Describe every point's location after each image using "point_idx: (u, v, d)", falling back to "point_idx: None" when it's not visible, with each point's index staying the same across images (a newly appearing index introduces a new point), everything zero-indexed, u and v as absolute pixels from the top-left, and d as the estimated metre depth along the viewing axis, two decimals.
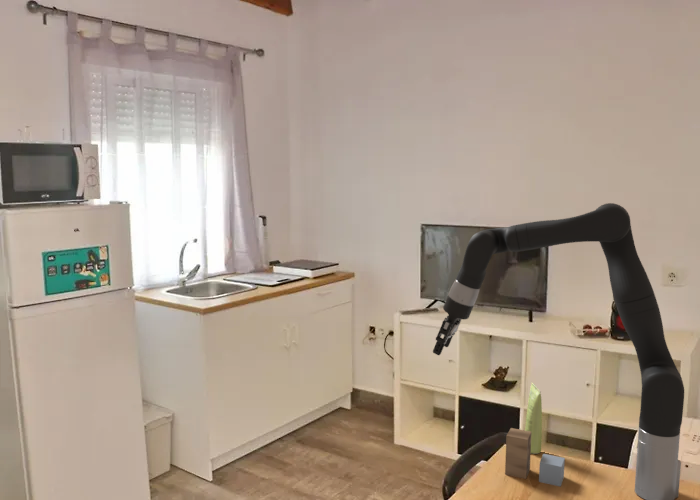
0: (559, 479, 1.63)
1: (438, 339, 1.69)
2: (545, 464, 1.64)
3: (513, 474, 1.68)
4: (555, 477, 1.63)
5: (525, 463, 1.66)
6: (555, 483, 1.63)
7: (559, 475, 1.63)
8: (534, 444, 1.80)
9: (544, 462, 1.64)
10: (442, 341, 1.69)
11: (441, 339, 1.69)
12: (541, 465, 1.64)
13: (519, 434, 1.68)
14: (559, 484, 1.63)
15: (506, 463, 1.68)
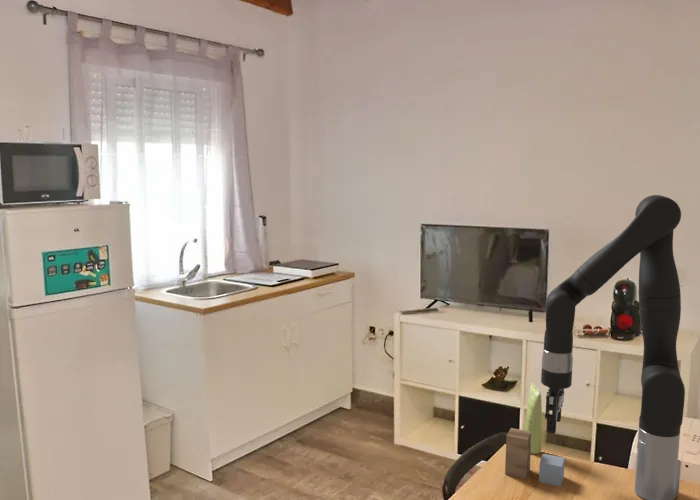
0: (559, 479, 1.63)
1: (548, 417, 1.58)
2: (545, 464, 1.64)
3: (513, 474, 1.68)
4: (555, 477, 1.63)
5: (525, 463, 1.66)
6: (555, 483, 1.63)
7: (559, 475, 1.63)
8: (534, 444, 1.80)
9: (544, 462, 1.64)
10: (553, 418, 1.57)
11: (551, 416, 1.57)
12: (541, 465, 1.64)
13: (519, 434, 1.68)
14: (559, 484, 1.63)
15: (506, 463, 1.68)
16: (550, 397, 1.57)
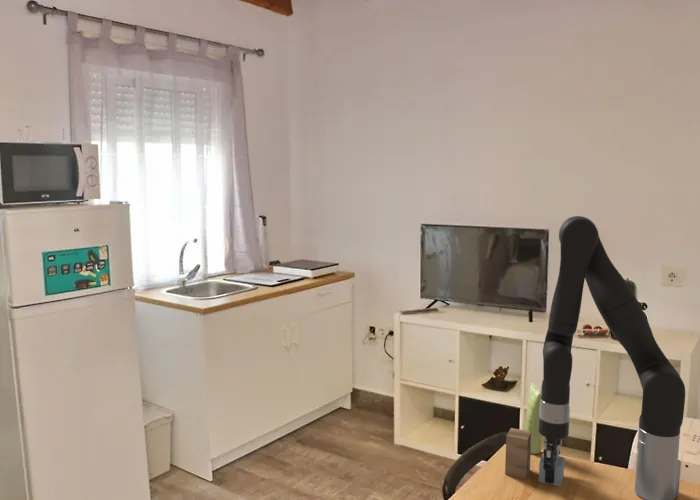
0: (559, 479, 1.63)
1: (546, 468, 1.61)
2: None
3: (513, 474, 1.68)
4: (555, 476, 1.63)
5: (525, 463, 1.66)
6: (555, 483, 1.63)
7: (559, 475, 1.63)
8: (534, 444, 1.80)
9: None
10: (551, 470, 1.60)
11: (549, 467, 1.60)
12: (541, 465, 1.64)
13: (518, 434, 1.68)
14: (558, 484, 1.63)
15: (506, 463, 1.68)
16: (547, 451, 1.59)
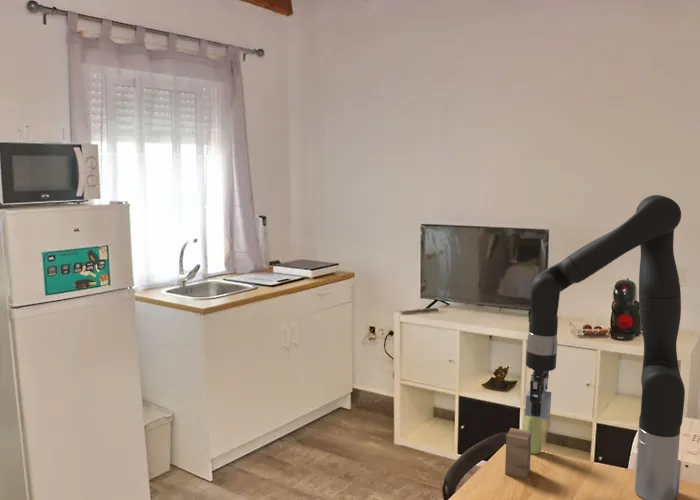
0: (545, 412, 1.62)
1: (532, 400, 1.60)
2: None
3: (513, 474, 1.68)
4: (541, 409, 1.62)
5: (525, 463, 1.66)
6: (541, 416, 1.63)
7: (545, 408, 1.62)
8: (534, 444, 1.80)
9: None
10: (537, 401, 1.59)
11: (535, 399, 1.60)
12: (527, 398, 1.64)
13: (518, 434, 1.68)
14: (545, 416, 1.62)
15: (506, 463, 1.68)
16: (534, 382, 1.58)
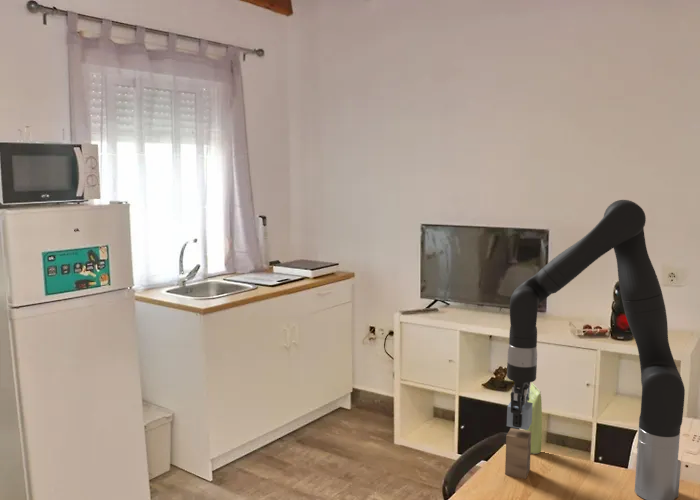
0: (526, 422, 1.65)
1: (513, 411, 1.63)
2: None
3: (513, 474, 1.68)
4: (522, 420, 1.65)
5: (525, 463, 1.66)
6: (522, 426, 1.65)
7: (526, 418, 1.64)
8: (534, 444, 1.80)
9: None
10: (518, 412, 1.62)
11: (516, 410, 1.62)
12: (509, 409, 1.66)
13: (518, 434, 1.68)
14: (526, 427, 1.65)
15: (506, 463, 1.68)
16: (514, 394, 1.61)
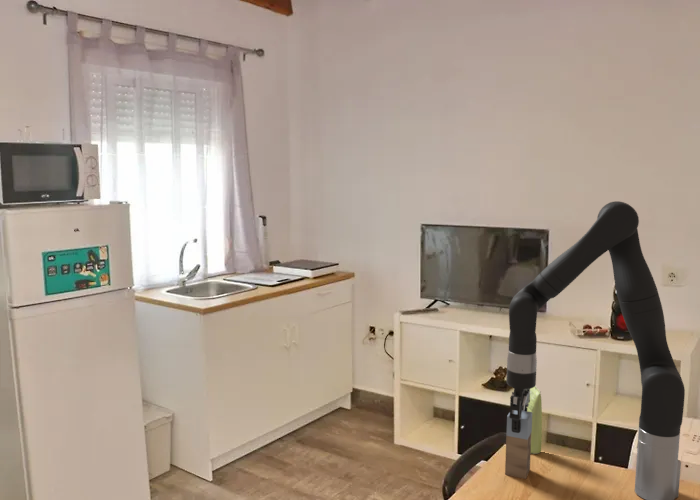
0: (526, 432, 1.65)
1: (512, 417, 1.62)
2: None
3: (513, 474, 1.68)
4: (522, 430, 1.65)
5: (525, 463, 1.66)
6: (522, 436, 1.66)
7: (526, 428, 1.65)
8: (534, 444, 1.80)
9: None
10: (517, 417, 1.61)
11: (515, 416, 1.61)
12: (508, 419, 1.67)
13: None
14: (525, 437, 1.65)
15: (506, 463, 1.68)
16: (514, 397, 1.61)
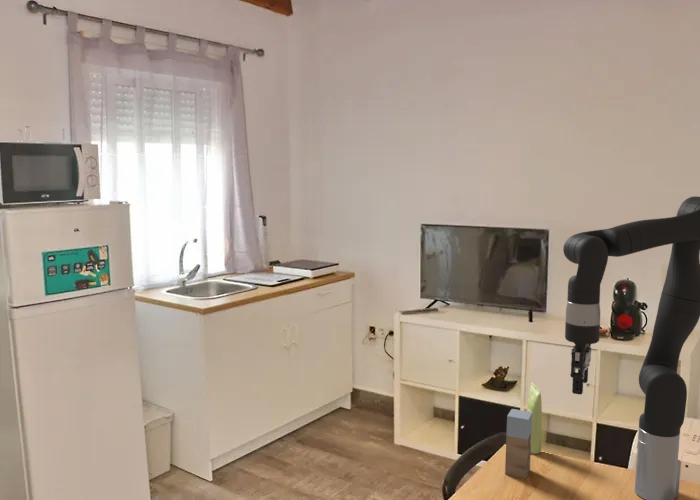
0: (526, 432, 1.65)
1: (574, 375, 1.41)
2: (513, 418, 1.66)
3: (513, 474, 1.68)
4: (522, 430, 1.65)
5: (525, 463, 1.66)
6: (522, 436, 1.66)
7: (526, 428, 1.65)
8: (534, 444, 1.80)
9: (511, 416, 1.67)
10: (579, 376, 1.41)
11: (577, 374, 1.41)
12: (508, 419, 1.67)
13: None
14: (525, 437, 1.65)
15: (506, 463, 1.68)
16: (576, 353, 1.41)
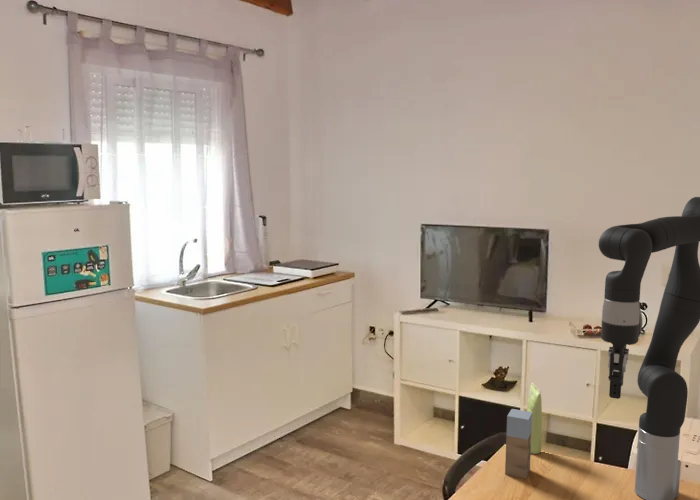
0: (526, 432, 1.65)
1: (612, 378, 1.32)
2: (513, 418, 1.66)
3: (513, 474, 1.68)
4: (522, 430, 1.65)
5: (525, 463, 1.66)
6: (522, 436, 1.66)
7: (526, 428, 1.65)
8: (534, 444, 1.80)
9: (511, 416, 1.67)
10: (618, 379, 1.31)
11: (616, 377, 1.32)
12: (508, 419, 1.67)
13: None
14: (525, 437, 1.65)
15: (506, 463, 1.68)
16: (615, 354, 1.31)
